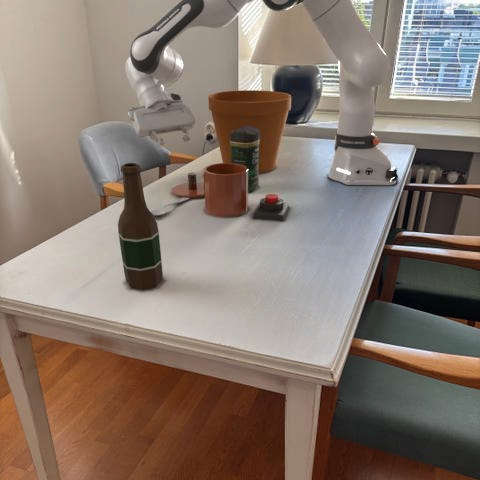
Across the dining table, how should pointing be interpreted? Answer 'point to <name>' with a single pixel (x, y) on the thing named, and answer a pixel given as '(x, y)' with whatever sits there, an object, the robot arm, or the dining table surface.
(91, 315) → the dining table surface
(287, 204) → the block
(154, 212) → the spoon
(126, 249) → the beer bottle
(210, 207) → the jar
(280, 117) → the flowerpot
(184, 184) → the lid
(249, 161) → the coffee jar
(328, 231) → the dining table surface
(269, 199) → the button
